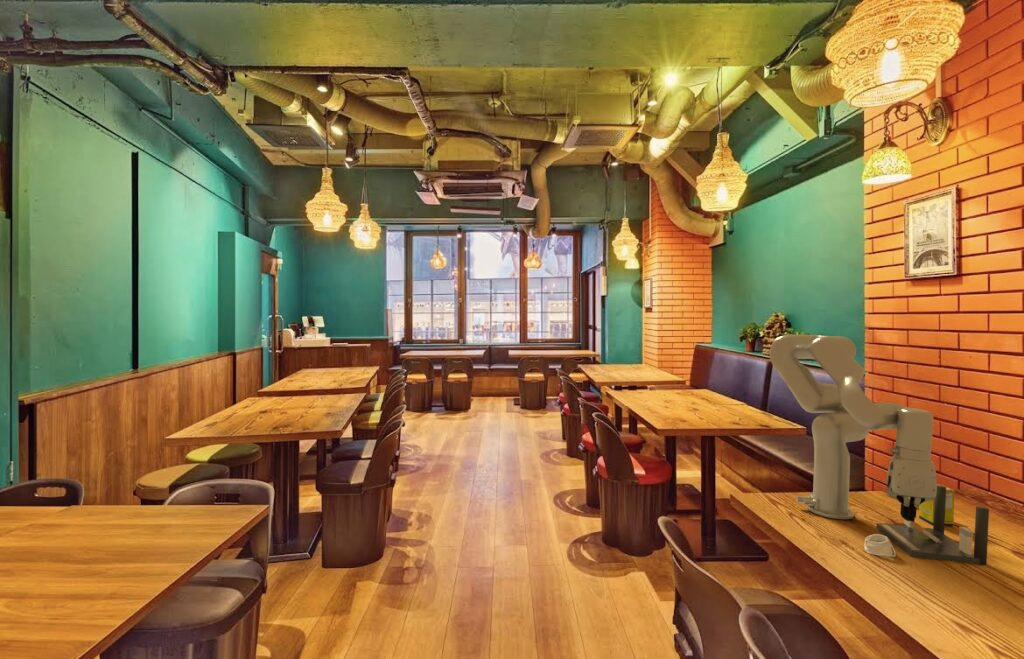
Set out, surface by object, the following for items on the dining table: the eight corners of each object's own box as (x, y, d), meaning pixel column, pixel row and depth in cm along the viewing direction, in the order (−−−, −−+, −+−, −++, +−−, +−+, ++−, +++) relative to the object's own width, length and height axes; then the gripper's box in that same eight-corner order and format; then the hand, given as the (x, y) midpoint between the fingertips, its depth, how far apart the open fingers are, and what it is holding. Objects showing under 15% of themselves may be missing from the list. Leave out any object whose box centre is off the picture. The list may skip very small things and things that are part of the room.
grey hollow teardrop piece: (900, 565, 124) (904, 547, 124) (869, 558, 126) (873, 541, 126) (887, 549, 132) (890, 532, 131) (858, 543, 134) (861, 526, 133)
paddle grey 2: (966, 554, 124) (967, 531, 124) (958, 548, 127) (959, 526, 127) (971, 554, 124) (972, 532, 124) (963, 549, 127) (964, 526, 127)
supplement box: (938, 518, 153) (940, 483, 152) (953, 526, 147) (955, 490, 146) (918, 517, 153) (919, 482, 153) (932, 525, 147) (934, 489, 147)
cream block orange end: (937, 543, 132) (917, 528, 133) (930, 538, 135) (910, 524, 136) (940, 540, 132) (920, 525, 133) (932, 535, 135) (913, 521, 136)
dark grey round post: (977, 564, 124) (980, 509, 123) (931, 532, 142) (933, 484, 142) (989, 565, 123) (991, 510, 123) (940, 533, 142) (942, 485, 141)
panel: (912, 556, 127) (912, 549, 127) (876, 528, 144) (876, 521, 144) (980, 564, 124) (980, 556, 124) (935, 533, 141) (935, 527, 141)
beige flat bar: (909, 527, 140) (910, 507, 140) (903, 523, 143) (904, 503, 143) (914, 528, 140) (915, 507, 140) (907, 523, 143) (908, 503, 143)
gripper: (888, 455, 132) (884, 521, 133) (953, 460, 129) (948, 528, 130) (874, 447, 140) (870, 510, 141) (935, 452, 136) (930, 517, 137)
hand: (907, 519), depth 135 cm, fingers closed
